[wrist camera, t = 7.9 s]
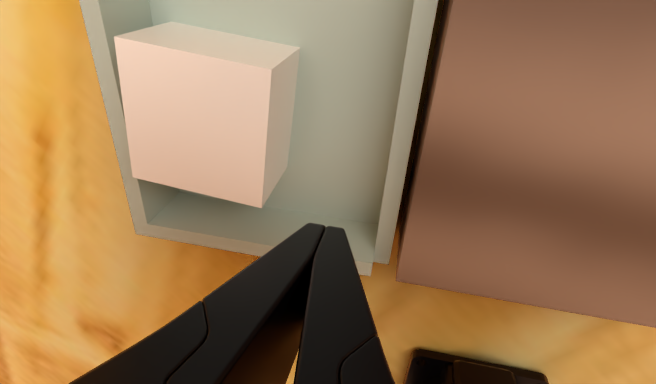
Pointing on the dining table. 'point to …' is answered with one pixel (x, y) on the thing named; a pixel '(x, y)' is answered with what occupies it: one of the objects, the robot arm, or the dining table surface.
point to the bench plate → (538, 158)
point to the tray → (307, 124)
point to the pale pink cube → (207, 109)
